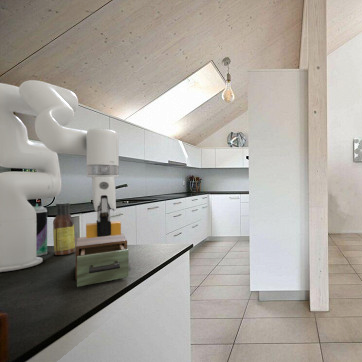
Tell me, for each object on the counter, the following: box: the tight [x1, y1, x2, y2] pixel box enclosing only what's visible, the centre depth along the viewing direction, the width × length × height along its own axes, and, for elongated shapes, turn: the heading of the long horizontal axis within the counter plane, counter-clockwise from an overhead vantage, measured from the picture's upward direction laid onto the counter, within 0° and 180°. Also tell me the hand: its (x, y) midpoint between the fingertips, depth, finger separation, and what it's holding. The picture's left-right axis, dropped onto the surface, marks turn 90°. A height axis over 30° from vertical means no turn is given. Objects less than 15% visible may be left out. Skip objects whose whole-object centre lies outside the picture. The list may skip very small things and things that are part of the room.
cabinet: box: [75, 232, 128, 281], centre depth 84 cm, size 15×13×10 cm
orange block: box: [85, 220, 122, 238], centre depth 75 cm, size 8×4×4 cm, turn 128°
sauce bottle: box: [52, 202, 76, 256], centre depth 100 cm, size 7×6×20 cm
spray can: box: [32, 202, 48, 257], centre depth 99 cm, size 6×6×20 cm
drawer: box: [76, 243, 130, 288], centre depth 74 cm, size 18×11×8 cm, turn 38°
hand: (103, 233), depth 75 cm, fingers closed on orange block, 4 cm apart
